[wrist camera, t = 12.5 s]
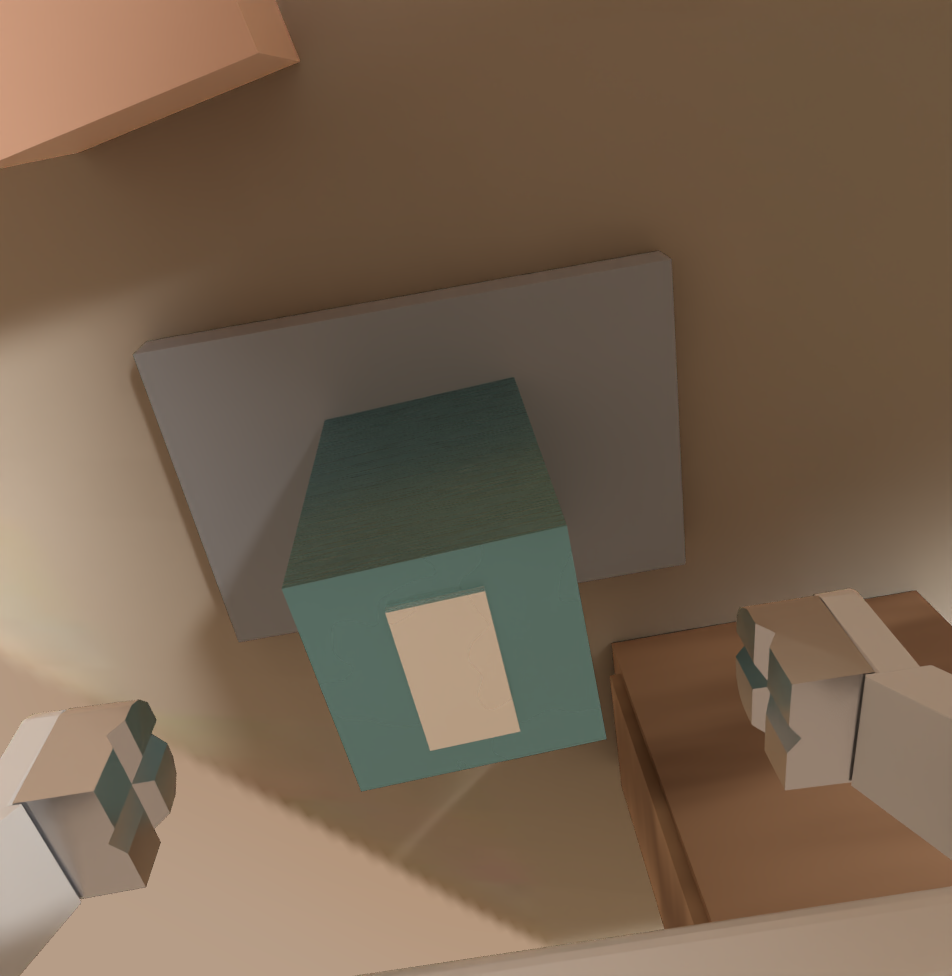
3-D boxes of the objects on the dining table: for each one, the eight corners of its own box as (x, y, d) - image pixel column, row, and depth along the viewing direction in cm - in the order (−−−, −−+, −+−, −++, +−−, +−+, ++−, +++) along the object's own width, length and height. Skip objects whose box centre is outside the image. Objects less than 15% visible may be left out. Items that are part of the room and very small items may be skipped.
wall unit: (601, 642, 23) (738, 1044, 14) (928, 585, 23) (1304, 948, 14) (615, 770, 26) (740, 1191, 16) (912, 718, 26) (1222, 1110, 16)
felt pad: (145, 341, 18) (132, 354, 18) (658, 250, 18) (671, 258, 18) (245, 619, 22) (238, 642, 21) (674, 545, 22) (685, 564, 21)
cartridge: (324, 419, 19) (280, 594, 12) (513, 376, 18) (568, 530, 12) (375, 578, 21) (360, 797, 14) (546, 540, 21) (608, 745, 14)
